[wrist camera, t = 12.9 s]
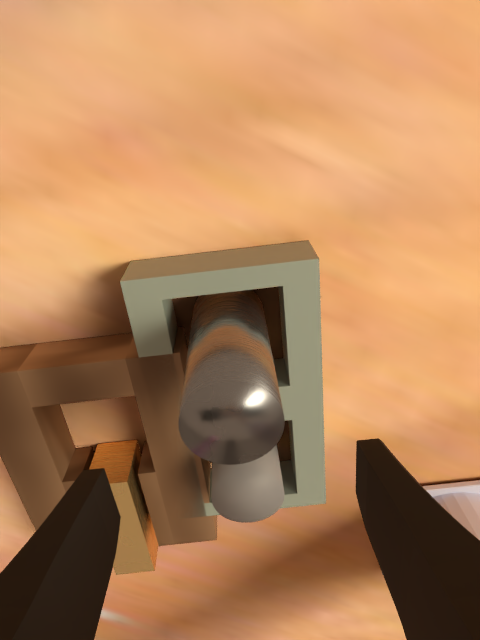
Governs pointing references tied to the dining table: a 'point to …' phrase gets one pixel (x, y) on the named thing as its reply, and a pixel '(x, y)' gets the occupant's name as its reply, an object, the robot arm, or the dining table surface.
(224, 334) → the grey metal cylinder
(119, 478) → the brown rectangular block
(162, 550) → the dining table surface
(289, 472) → the rack
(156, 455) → the socket block
